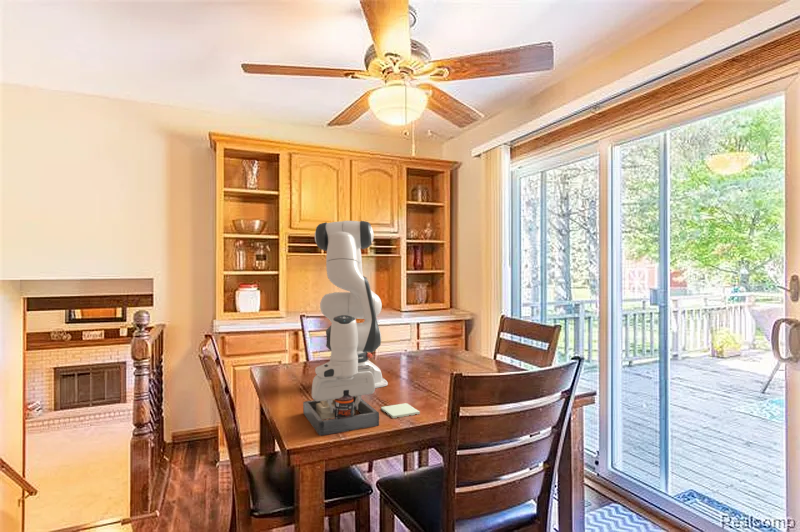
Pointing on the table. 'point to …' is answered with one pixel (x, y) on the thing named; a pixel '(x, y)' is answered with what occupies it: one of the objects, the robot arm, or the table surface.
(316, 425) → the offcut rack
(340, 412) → the supplement bottle
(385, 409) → the mat
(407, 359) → the table surface
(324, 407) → the offcut stack
